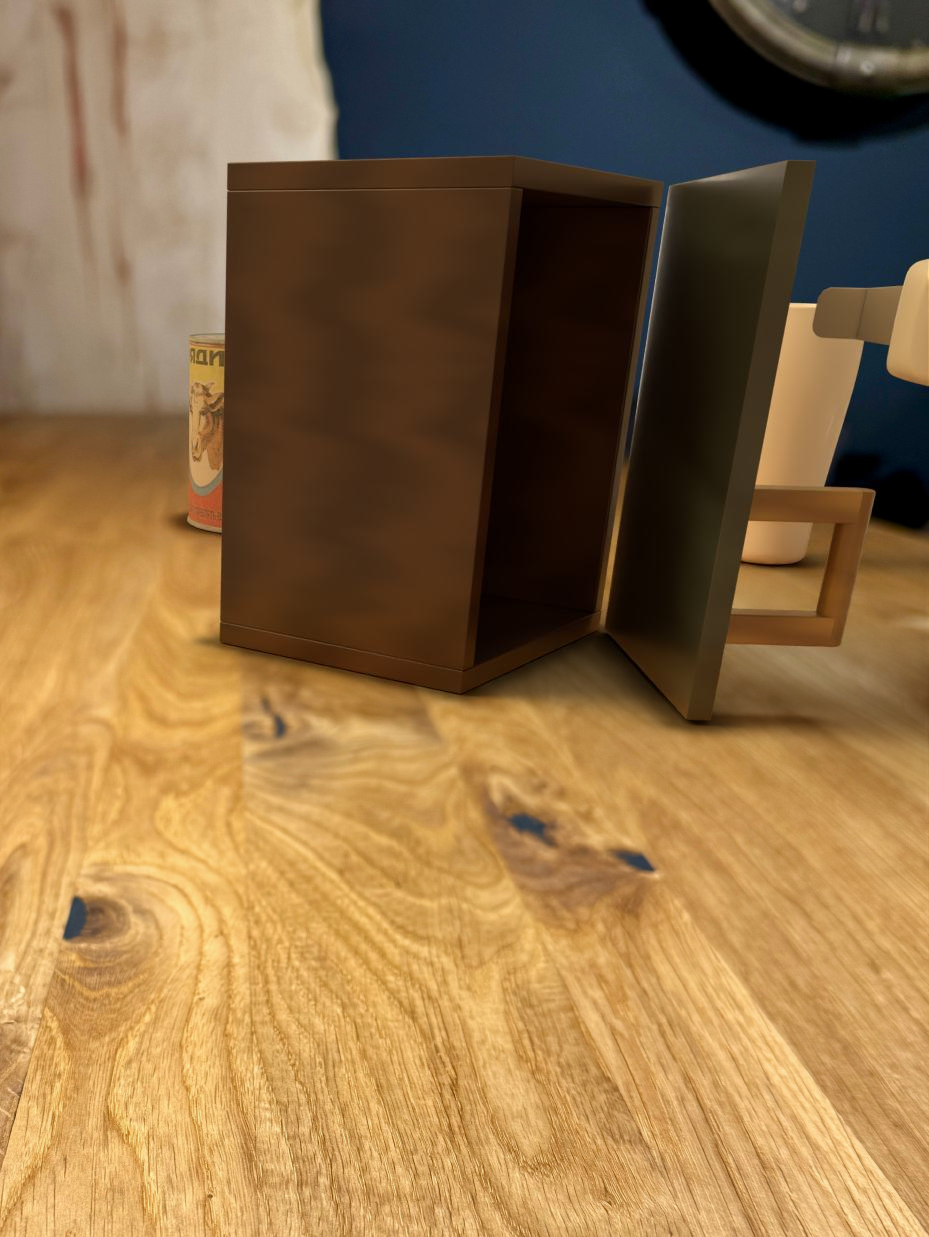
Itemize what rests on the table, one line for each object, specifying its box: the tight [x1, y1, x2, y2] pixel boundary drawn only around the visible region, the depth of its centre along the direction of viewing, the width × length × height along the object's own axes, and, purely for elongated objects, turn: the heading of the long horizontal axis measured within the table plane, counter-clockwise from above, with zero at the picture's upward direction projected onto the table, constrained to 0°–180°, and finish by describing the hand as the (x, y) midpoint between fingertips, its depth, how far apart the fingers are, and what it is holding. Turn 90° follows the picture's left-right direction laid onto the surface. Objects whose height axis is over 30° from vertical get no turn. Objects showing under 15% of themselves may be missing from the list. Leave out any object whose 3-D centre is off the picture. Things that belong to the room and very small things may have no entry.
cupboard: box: [219, 154, 665, 695], centre depth 60 cm, size 13×15×20 cm
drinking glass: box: [741, 302, 865, 565], centre depth 82 cm, size 7×7×15 cm
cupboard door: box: [603, 159, 877, 721], centre depth 55 cm, size 6×15×20 cm, turn 179°
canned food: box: [187, 332, 225, 534], centre depth 90 cm, size 11×11×12 cm
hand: (824, 311), depth 52 cm, fingers closed
